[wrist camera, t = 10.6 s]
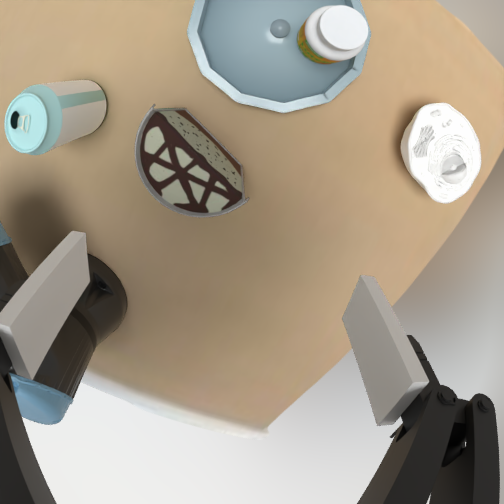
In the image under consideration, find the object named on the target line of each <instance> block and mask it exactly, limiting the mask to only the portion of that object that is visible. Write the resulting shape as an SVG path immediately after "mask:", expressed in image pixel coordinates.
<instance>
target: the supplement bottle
mask: <svg viewBox="0 0 504 504" xmlns="http://www.w3.org/2000/svg"><path fill="white" fill-rule="evenodd" d="M367 36H368V25H367V22H366V20H365V19H364V17H363V16H362V15H361V14H360V13H359V12H358V11H357V10H355V9H353V8H351V7H348V6H343V5H337V6H324V7H321V8H319V9H317V10H315V11H314V12H313V13H312V14H311V15H310V16H309V17H308V18H307V19H306V21H305V22H304V23H303V25H302V26H301V27H300V29H299V31H298V34H297V45H298V48H299V50H300V52H301V53H302V54H303V56H304V57H306V58H307V59H308V60H310V61H312V62H314V63H317V64H332V63H336V62H340V61H344V60H348V59H350V58H352V57H354V56H356V55H357V54H358V53H359V52H360V51H361V50H362V48H363V46H364V44H365V41H366V39H367Z"/></svg>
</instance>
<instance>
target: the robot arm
mask: <svg viewBox="0 0 504 504" xmlns="http://www.w3.org/2000/svg"><path fill="white" fill-rule="evenodd" d="M11 242H12V239H11V238H10V237H8V235H7V233H6V231H5V229H4V227H3V225H2V223H1V221H0V504H56V502H55V500H54V498H53V496H52V494H51V492H50V489H49V487H48V485H47V483H46V481H45V478H44V476H43V474H42V472H41V469H40V467H39V464H38V462H37V460H36V457H35V454H34V452H33V449H32V446H31V443H30V441H29V438H28V435H27V432H26V429H25V426H24V423H23V420H22V417H24V418H26V419H29V420H31V421H34V422H37V423H41V424H46V425H50V424H51V425H52V424H56V423H59V422H60V421H61V420H62V418H63V417H64V415H65V413H66V411H67V409H68V407H69V405H70V404H72V402H73V398H74V396H75V393H76V391H77V389H78V386H79V384H80V382H81V379H82V377H83V375H84V372H85V370H86V368H87V366H88V363H89V361H90V359H91V357H92V354H93V352H94V350H95V348H96V346H97V345H98V344H100V343H101V342H102V341H103V340H104V339H106V338H107V337H108V336H109V335H110V334H111V333H112V332H114V331H115V330H116V329H117V328H118V326H119V325H120V323H121V321H122V319H123V317H124V315H125V313H126V309H127V300H126V295H125V291H124V289H123V287H122V285H121V283H120V281H119V280H118V278H117V277H116V275H115V274H114V273H113V272H112V271H111V270H110V269H109V268H108V267H107V266H106V265H105V264H104V263H102V262H101V261H100V260H98V259H97V258H95V257H93V256H91V255H89V254H87V244H86V233H83V232H77V231H71V232H70V233H69V234H68V235H67V236H66V237H65V239H64V240H63V241H62V242H61V243H60V244H59V245H58V246H57V247H56V248H55V249H54V250H53V251H52V252H51V253H50V254H49V255H48V257H47V258H46V259H45V260H44V261H43V262H42V263H41V264H40V265H39V267H38V268H37V269H36V270H35V271H34V272H33V273H32V274H31V276H30V277H28V275H27V273H26V271H25V269H24V267H23V265H22V264H21V262H20V260H19V258H18V256H17V254H16V252H15V250H14V248H13V246H12V243H11ZM342 320H343V322H344V325H345V328H346V331H347V334H348V337H349V339H350V342H351V345H352V348H353V351H354V354H355V357H356V360H357V363H358V365H359V369H360V372H361V375H362V378H363V381H364V385H365V388H366V391H367V394H368V397H369V400H370V404H371V407H372V410H373V413H374V416H375V420H376V423H377V426H381V425H391V424H394V423H395V422H396V420H397V419H398V418H399V417H400V416H401V418H402V421H403V423H402V424H401V426H400V427H399V428H398V429H397V430H396V431H395V432H394V433H393V434H392V435H391V436H390V438H393V437H394V436H395V437H394V439H393V441H392V443H391V445H390V447H389V449H388V451H387V453H386V455H385V457H384V458H383V460H382V462H381V464H380V466H379V468H378V470H377V471H376V473H375V475H374V477H373V478H372V480H371V482H370V484H369V485H368V487H367V488H366V490H365V492H364V494H363V495H362V497H361V498H360V500H359V501H358V503H357V504H426V503H427V500H428V498H429V496H430V493H431V496H430V502H429V504H499V490H500V489H499V488H500V477H499V476H500V474H499V473H500V472H499V447H498V434H497V424H496V414H495V408H494V404H493V403H492V401H491V400H490V398H488V397H487V396H486V395H484V394H480V393H479V394H475V395H474V396H473V397H472V399H471V400H470V401H467V400H463V399H458V398H457V396H456V394H455V393H454V391H453V390H451V389H450V388H449V387H447V386H444V385H440V384H439V381H438V379H437V377H436V375H435V373H434V371H433V369H432V367H431V365H430V363H429V361H427V358H426V356H425V354H423V350H422V348H421V346H420V344H419V343H418V342H417V341H416V340H415V339H414V338H413V336H412V335H406V334H405V332H404V330H403V328H402V326H401V324H400V322H399V320H398V318H397V317H396V315H395V313H394V311H393V309H392V307H391V306H390V304H389V302H388V300H387V298H386V297H385V295H384V293H383V291H382V289H381V288H380V286H379V284H378V282H377V281H376V279H375V277H373V276H366V275H360V278H359V280H358V282H357V285H356V287H355V290H354V292H353V294H352V297H351V299H350V301H349V304H348V306H347V308H346V311H345V313H344V315H343V317H342ZM465 442H466V447H465Z"/></svg>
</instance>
